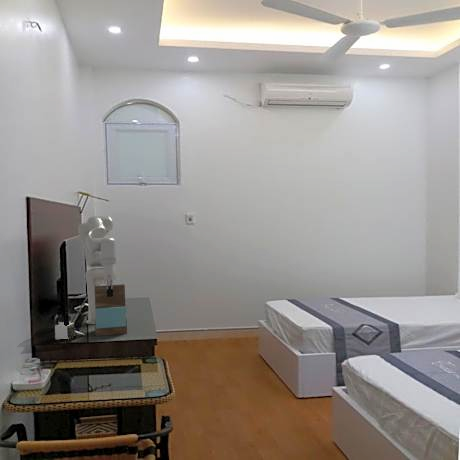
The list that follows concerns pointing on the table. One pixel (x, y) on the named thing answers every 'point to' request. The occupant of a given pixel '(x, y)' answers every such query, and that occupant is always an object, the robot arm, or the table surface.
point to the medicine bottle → (64, 329)
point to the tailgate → (110, 317)
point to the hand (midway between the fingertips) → (110, 296)
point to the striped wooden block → (110, 306)
